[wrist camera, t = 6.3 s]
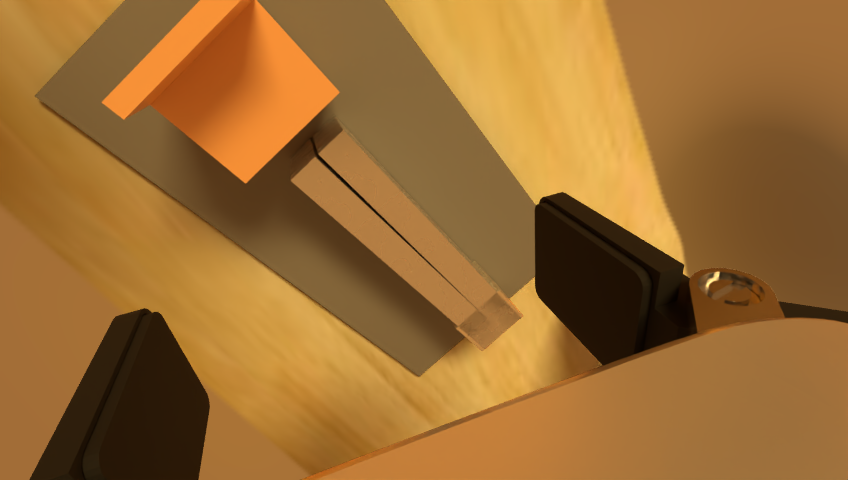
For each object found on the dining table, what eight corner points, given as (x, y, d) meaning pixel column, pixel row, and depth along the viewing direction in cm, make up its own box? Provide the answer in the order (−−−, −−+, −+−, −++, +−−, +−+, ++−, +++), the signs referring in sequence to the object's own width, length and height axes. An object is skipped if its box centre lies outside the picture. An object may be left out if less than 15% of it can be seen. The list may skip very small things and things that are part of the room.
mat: (38, 94, 19) (34, 96, 19) (271, -151, 18) (270, -154, 18) (417, 372, 34) (419, 376, 33) (564, 245, 32) (567, 248, 32)
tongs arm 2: (313, 135, 23) (318, 154, 20) (337, 112, 23) (346, 127, 20) (478, 300, 31) (502, 333, 28) (496, 284, 31) (523, 315, 28)
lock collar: (167, 75, 20) (101, 102, 13) (249, -8, 20) (229, -30, 12) (253, 152, 23) (239, 209, 15) (328, 78, 22) (349, 103, 15)
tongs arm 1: (287, 160, 23) (287, 183, 20) (310, 137, 23) (314, 156, 20) (460, 316, 32) (482, 351, 28) (478, 300, 31) (502, 333, 28)
